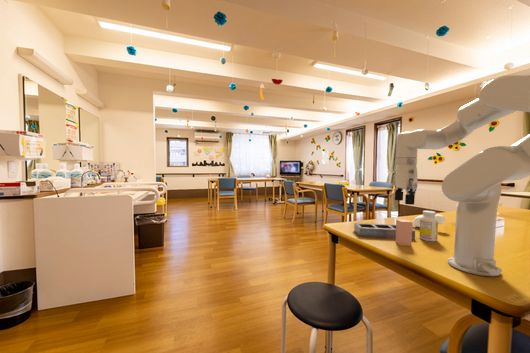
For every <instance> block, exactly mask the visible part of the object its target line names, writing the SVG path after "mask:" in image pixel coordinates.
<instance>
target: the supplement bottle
mask: <svg viewBox="0 0 530 353" xmlns="http://www.w3.org/2000/svg"><path fill="white" fill-rule="evenodd" d="M422 215H423V216H422V217H420V227H419V238H420V239H421V240H422V241H427V242H437V241H438V237H439V236H438V234H439V232H438V231H439V229H438V228H439V224H438V219H437V218H436V217H435V215H437V214H436V211H433V210H422Z"/></svg>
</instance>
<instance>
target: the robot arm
mask: <svg viewBox="0 0 530 353" xmlns="http://www.w3.org/2000/svg"><path fill="white" fill-rule="evenodd" d="M515 112H525V113H526V112H527V113H530V75H525V74H524V75H517V74H516V75H515V74H514V75H509V74H508V75H502V76H498V77H495V78H493V79H491V80H488V82H487V83H485V84H484V85H483V86H482V87H481V89H480V90H479V92H478V97H477V98H476V99H474V100H472V101H471V102H469V103H466V104H464V105H463V106H461V107H460V108H459V109H458V110H457V111H456V117H457V118H456V119H455V120H454V121H453V122H452V123H449V124H448V125H446V126H444V127H442V128H440V129H437V130H436V129H428V128H427V129H424V128H423V129H422V128H421V129H417V130H413V131H405V132H399V133H398V134H397V136H396V151H395V166H396V171H395V179H394V200H395V201H404V190H405V192H406V194H405V201H404V204H405V205H410V206H411V205H415V198H416V192H417V189H418V166H417V165H418V150H432V151H433V150H441V149H444V148H446V147H449V146H451V145H453V144H456V143H458V142H460V141H462V140H464V139H465V138H467V137H468V136H469V135H470V134H472V133H473V132H474V131H476V130H477V129H479V128H481V127H483V126H486V125H489V124H491V123H493V122H494V121H496V120H499V119H501V118H504V117H507V116H509V115H511V114H513V113H515ZM528 177H530V133H529V134H527V135H526V136H524V137H523V138H521V139H520V140H518V141H516V142H515V143H512V144H511V145H509V146H507V145H498V146H492V147H489V148H485V149H484V150H482V151H480V152H478V153H476V154H475V155H473V156H472V157H471V158H469V159H467V160H466V161H464V163H461V165H459V166H458V167H457V168H455V169H453V170H452V171H451V172H449V174H447V175H446V176H445V177H444V179H443V181H441V182H442V183H441V192H442V194H443V195H444V196H445V197H446V198H447V199H449V200H451V201H454V202H457V203H458V204H457V206H456V211H455V225H454V226H455V230H454V247H453V248H454V252H453V256H450V257H448V258H447V263H448V264H449V265H450V266H451V267H453V268H455V269H457V270H460V271H463V272H465V273H469V274H472V275H478V276H485V277H498V276H500V275H501V273H502V272H503V270H502V268H500V267H498V266H497V260H495V249H496V248H495V247H496V246H495V245H496V244H495V243H496V229H497V214H498V207H499V203H500V198H501V195H502V184H501V183H504V182H505V181H519V180H523V179H526V178H528Z"/></svg>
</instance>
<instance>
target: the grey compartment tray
mask: <svg viewBox="0 0 530 353" xmlns="http://www.w3.org/2000/svg"><path fill="white" fill-rule="evenodd" d="M353 225H354V228H353V230H354V232H355V233H356V234H357V235H358V237H359V236H360V237H361V238H362V237H363V238H377V239H379V238H380V239H381V238H382V239H396V224H391V223H390V224H387V223H368V222H367V223H363V222H354V224H353ZM415 239H416V230H415V229H413V228H412V240H415Z"/></svg>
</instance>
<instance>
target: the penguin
mask: <svg viewBox="0 0 530 353" xmlns="http://www.w3.org/2000/svg"><path fill="white" fill-rule="evenodd" d="M422 216H423V214H422V215H418V216H416V217H415V218H414V219H413V220H412V221H411V222H412V228H414V227H415V228H420V217H422ZM435 217H436V218H437V219H438V225H442V224H444V223H445V222H446V218H445V216H444V215H442V214H440V213H439V214H438V213H437V214H436V215H435Z"/></svg>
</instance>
